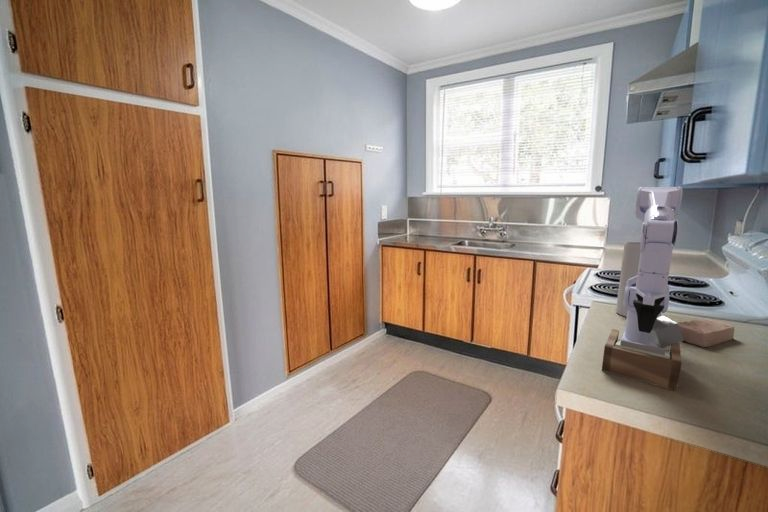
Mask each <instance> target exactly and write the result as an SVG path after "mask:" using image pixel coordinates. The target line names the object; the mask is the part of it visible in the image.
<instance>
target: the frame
mask: <svg viewBox="0 0 768 512" xmlns="http://www.w3.org/2000/svg"><path fill="white" fill-rule="evenodd" d="M619 334H620V330H619V329H614V328H612V329H611V331H610V333H609V336H608V338H607V340H606V343H605V345H604V348H603V358H602V364H601V365H602V366H601V371H603V372H606V373H611V374H613V375H618V376H620V377H626V378H628V379H632V380H635V381H639V382H643V383H646V384H647V383H648V384H651V385H654V386H658V387H661V388H665V389H669V390H673V391H676V392H677V391H678V387H679V383H680V382H679V380H680V374H681V370H682V369H681V368H682V357H681V342H679V343H676V344H673V345H670V346H669V348H670V349H669V355H670V359H668V358H663V357H659V356H655V355H650V354H646V353H642V352H637V351H633V350H629V349H625V348H620V347H616V346H615V344H616V343H617V342H618V340H619Z"/></svg>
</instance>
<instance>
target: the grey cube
mask: <svg viewBox="0 0 768 512" xmlns="http://www.w3.org/2000/svg"><path fill="white" fill-rule="evenodd" d="M677 323H678V322H676V321H674V320H672V319H670V318H669V317H667V316H665V315H661V317H659V318H656V320H655V323H654V326H653V328H652V330H651V332H650V333H646V334H647V337H648V340H649V341H651V342H652V343H654V344H655V345H657V347H659V348H664V349H666V348H667V347H671V345H673V344H676V343H681V342H684V341H683V338H682V335H681V332H680V329H679V326H678V324H677Z"/></svg>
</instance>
